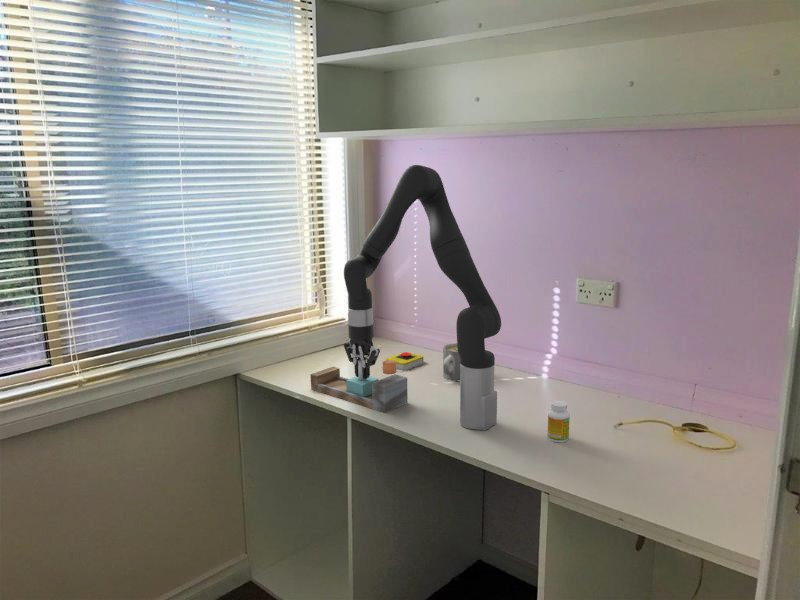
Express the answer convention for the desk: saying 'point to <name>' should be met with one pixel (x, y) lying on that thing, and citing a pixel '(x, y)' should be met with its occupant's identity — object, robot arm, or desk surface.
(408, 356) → the emergency button
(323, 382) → the rail
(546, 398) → the desk surface
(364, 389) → the carriage
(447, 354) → the coffee mug
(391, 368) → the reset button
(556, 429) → the supplement bottle
